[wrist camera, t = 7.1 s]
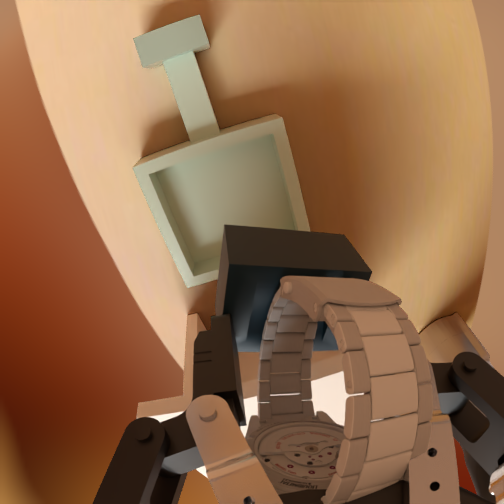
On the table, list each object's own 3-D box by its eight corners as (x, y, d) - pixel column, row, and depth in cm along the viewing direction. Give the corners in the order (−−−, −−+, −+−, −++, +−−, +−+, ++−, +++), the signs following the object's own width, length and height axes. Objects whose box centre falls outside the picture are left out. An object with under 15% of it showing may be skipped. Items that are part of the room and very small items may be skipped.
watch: (212, 333, 17) (230, 545, 7) (229, 184, 13) (289, 473, 3) (312, 334, 18) (378, 519, 8) (355, 199, 14) (527, 399, 4)
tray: (104, 60, 21) (90, 58, 18) (243, 10, 20) (247, 1, 18) (189, 270, 32) (187, 289, 29) (306, 234, 31) (315, 250, 29)
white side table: (162, 268, 32) (136, 418, 17) (328, 217, 31) (414, 343, 16) (211, 357, 39) (217, 484, 24) (344, 319, 38) (397, 437, 23)
